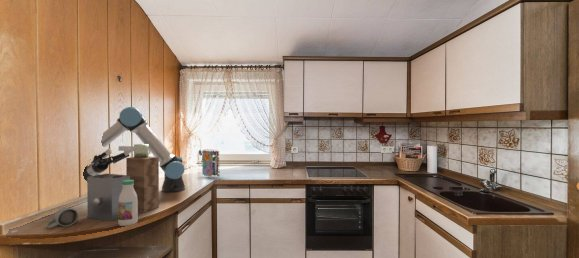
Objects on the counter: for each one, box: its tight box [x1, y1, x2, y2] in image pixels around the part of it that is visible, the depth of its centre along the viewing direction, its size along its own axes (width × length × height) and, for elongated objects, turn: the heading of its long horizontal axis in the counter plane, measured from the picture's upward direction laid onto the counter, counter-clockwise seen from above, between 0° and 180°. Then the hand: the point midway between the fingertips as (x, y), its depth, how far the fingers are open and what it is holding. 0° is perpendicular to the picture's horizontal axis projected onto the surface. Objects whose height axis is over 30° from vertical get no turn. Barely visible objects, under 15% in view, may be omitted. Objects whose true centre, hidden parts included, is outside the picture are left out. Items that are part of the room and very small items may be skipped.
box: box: [198, 148, 221, 179], centre depth 243 cm, size 25×6×24 cm, turn 55°
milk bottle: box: [117, 180, 139, 227], centre depth 128 cm, size 8×8×20 cm
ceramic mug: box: [45, 207, 79, 230], centre depth 126 cm, size 11×8×8 cm
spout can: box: [118, 143, 150, 158], centre depth 153 cm, size 7×18×7 cm, turn 72°
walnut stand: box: [125, 156, 160, 213], centre depth 151 cm, size 10×12×28 cm
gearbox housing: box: [86, 173, 130, 222], centre depth 137 cm, size 12×16×20 cm
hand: (121, 149), depth 154 cm, fingers open, 13 cm apart
